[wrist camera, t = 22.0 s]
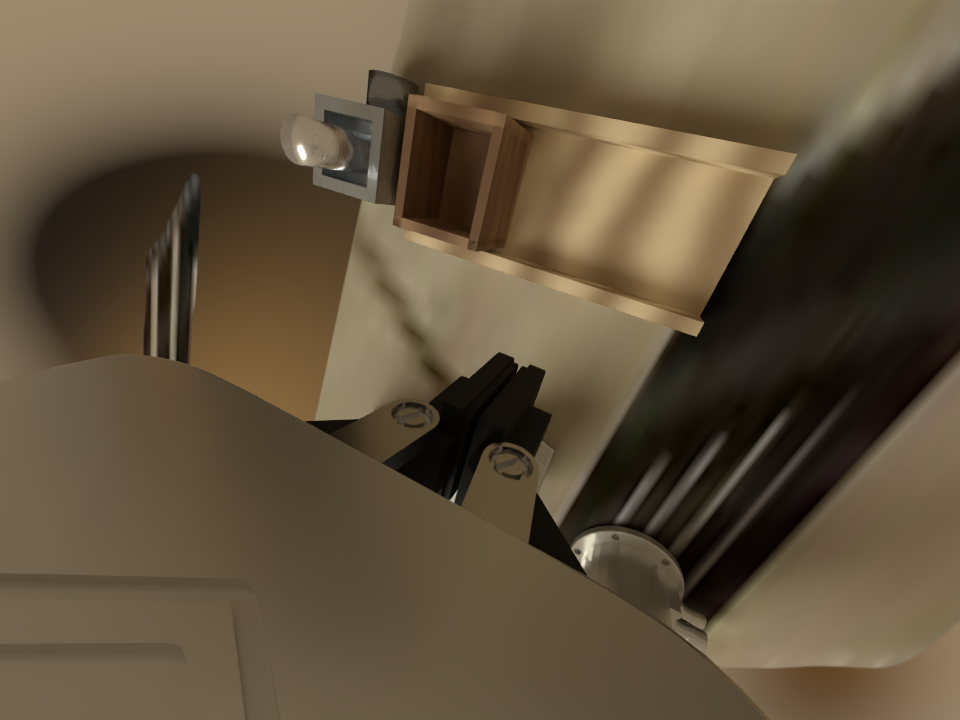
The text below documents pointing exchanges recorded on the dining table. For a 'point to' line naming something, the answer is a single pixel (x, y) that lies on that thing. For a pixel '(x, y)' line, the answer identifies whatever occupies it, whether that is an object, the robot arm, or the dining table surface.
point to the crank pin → (325, 145)
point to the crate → (460, 173)
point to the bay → (623, 209)
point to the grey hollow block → (386, 130)
